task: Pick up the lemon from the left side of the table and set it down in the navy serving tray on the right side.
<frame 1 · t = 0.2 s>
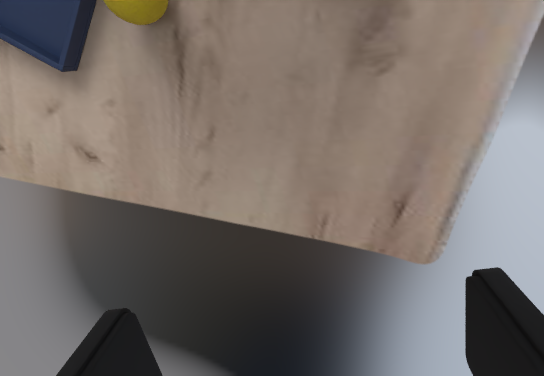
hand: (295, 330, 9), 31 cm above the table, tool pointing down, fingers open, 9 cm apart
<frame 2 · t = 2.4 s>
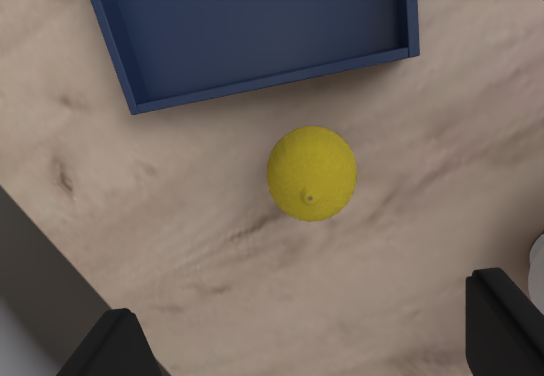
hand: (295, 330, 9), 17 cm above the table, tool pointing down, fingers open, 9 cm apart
lemon: (311, 152, 25), on the table
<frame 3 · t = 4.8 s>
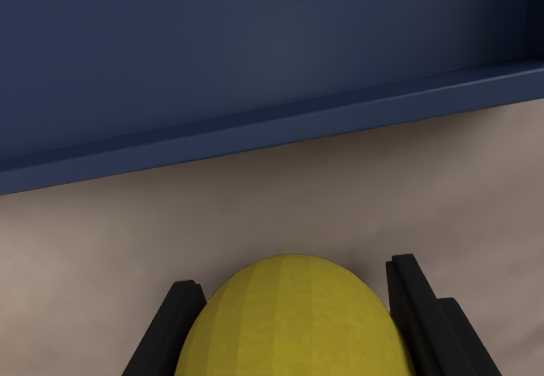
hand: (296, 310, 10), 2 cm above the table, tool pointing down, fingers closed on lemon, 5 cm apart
lemon: (297, 276, 12), on the table, touching gripper
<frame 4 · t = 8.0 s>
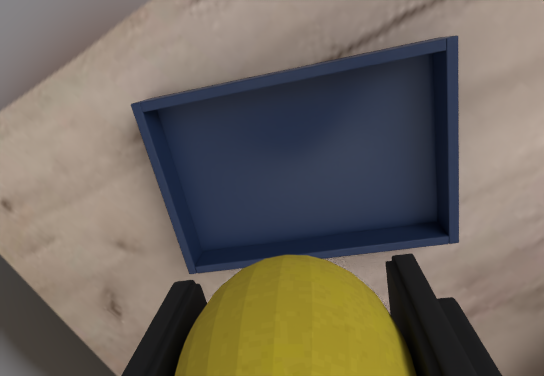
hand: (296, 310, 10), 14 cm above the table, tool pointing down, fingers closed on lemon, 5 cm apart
lemon: (297, 276, 12), point 12 cm above the table, touching gripper
tray: (300, 163, 23), on the table
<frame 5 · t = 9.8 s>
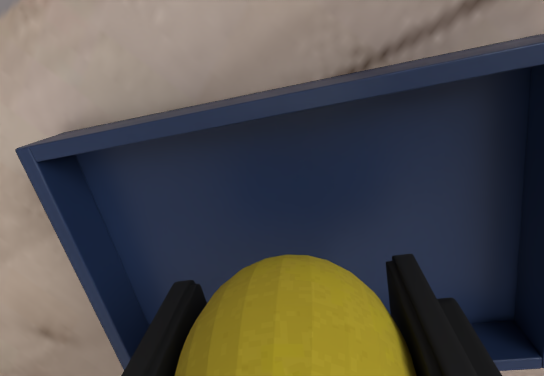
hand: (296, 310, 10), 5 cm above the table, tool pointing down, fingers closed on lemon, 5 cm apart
lemon: (297, 276, 12), point 3 cm above the table, touching gripper
tray: (301, 229, 15), on the table
when the fingers open (2 cm above the table, at t = 11.1 s): lemon stays where it is, resting on tray.
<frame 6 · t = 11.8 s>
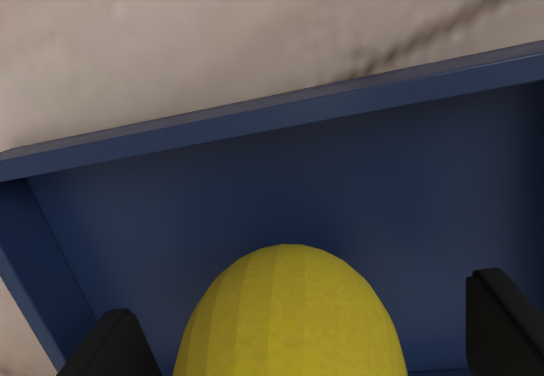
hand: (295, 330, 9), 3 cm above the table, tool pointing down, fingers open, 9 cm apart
lemon: (293, 267, 12), resting on tray
tray: (293, 260, 13), on the table
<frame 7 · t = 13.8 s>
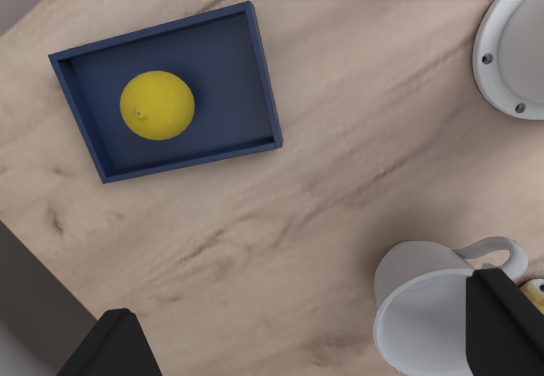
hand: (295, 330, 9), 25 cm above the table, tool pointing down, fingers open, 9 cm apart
teacup: (417, 252, 37), on the table
lemon: (176, 99, 32), resting on tray
pastry: (540, 301, 38), on the table
tray: (177, 99, 32), on the table
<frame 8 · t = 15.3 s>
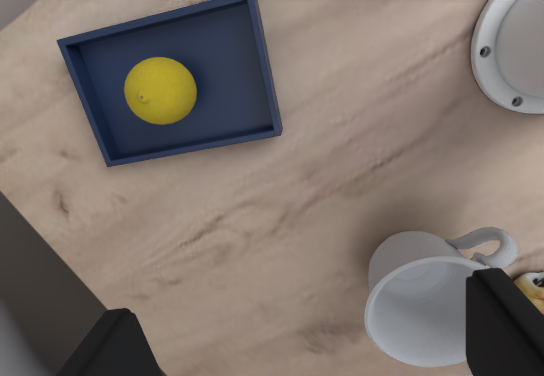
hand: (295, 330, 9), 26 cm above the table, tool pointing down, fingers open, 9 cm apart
teacup: (413, 243, 38), on the table
lemon: (179, 86, 33), resting on tray
pastry: (534, 295, 39), on the table
tray: (180, 86, 33), on the table
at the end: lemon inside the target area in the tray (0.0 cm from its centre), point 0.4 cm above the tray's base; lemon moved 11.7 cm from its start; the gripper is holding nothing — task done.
